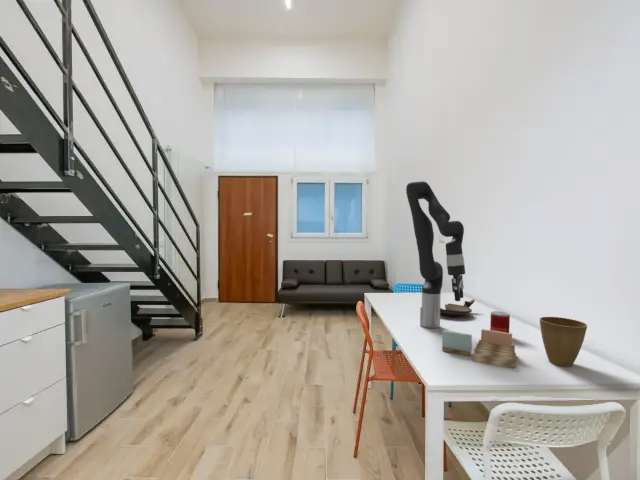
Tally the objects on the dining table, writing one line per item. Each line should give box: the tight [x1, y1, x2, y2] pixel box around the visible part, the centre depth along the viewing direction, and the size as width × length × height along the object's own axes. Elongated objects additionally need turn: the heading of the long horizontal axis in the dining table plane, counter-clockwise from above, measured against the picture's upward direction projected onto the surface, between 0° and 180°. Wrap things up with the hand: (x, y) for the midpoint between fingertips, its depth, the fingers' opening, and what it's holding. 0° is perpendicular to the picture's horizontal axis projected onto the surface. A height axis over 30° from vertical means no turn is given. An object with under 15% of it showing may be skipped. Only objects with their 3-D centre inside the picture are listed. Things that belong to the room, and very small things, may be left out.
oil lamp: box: [440, 299, 476, 317], centre depth 211 cm, size 22×30×8 cm
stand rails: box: [442, 347, 470, 357], centre depth 147 cm, size 10×4×1 cm, turn 59°
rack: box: [472, 339, 517, 369], centre depth 141 cm, size 14×15×4 cm
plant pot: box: [539, 316, 588, 368], centre depth 136 cm, size 15×15×16 cm
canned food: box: [489, 310, 511, 333], centre depth 169 cm, size 8×8×11 cm
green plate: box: [441, 329, 473, 356], centre depth 147 cm, size 11×2×8 cm, turn 59°
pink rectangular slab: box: [480, 328, 513, 347], centre depth 145 cm, size 11×2×8 cm, turn 59°
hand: (459, 299), depth 166 cm, fingers open, 8 cm apart
